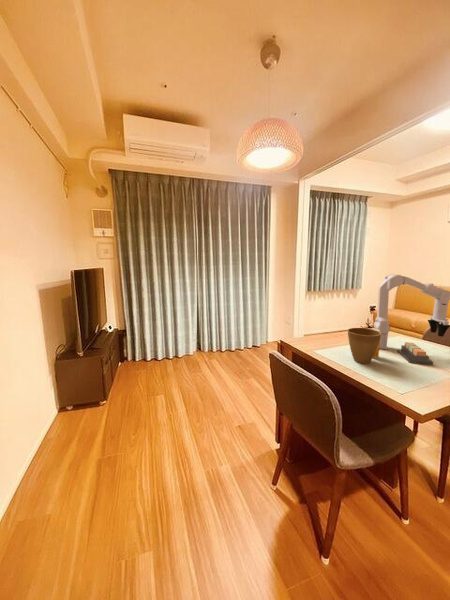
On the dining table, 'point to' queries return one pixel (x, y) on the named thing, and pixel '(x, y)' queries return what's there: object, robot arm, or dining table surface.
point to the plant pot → (363, 343)
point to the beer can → (377, 347)
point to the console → (413, 357)
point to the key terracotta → (419, 352)
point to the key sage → (413, 348)
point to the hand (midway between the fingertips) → (436, 334)
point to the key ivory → (409, 344)
